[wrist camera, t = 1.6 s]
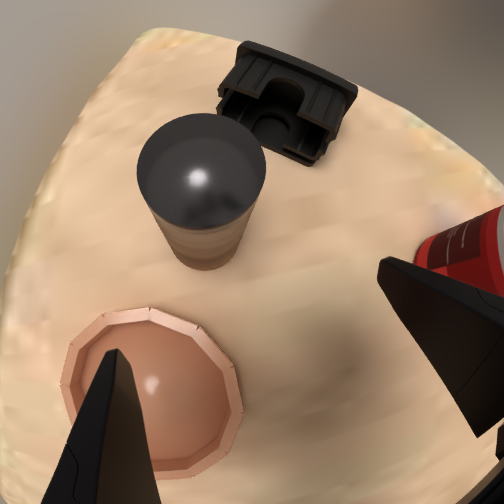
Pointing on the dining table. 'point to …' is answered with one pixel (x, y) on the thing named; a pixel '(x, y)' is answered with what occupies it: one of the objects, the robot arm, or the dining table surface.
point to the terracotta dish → (164, 385)
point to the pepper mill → (202, 185)
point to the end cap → (285, 101)
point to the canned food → (469, 252)
